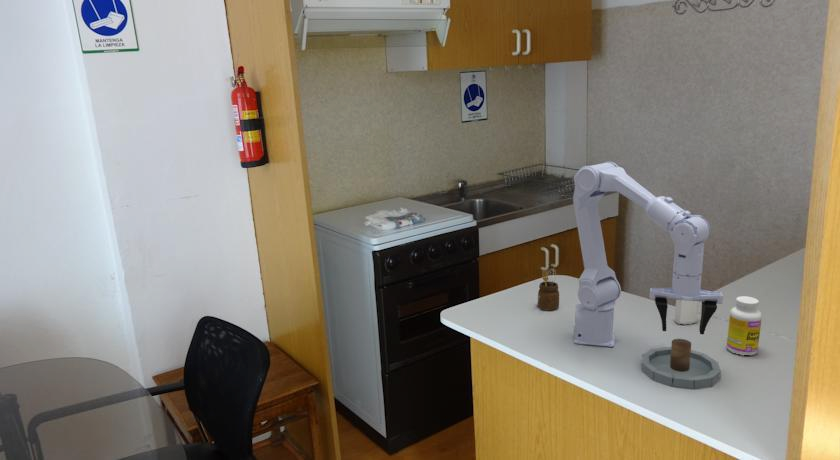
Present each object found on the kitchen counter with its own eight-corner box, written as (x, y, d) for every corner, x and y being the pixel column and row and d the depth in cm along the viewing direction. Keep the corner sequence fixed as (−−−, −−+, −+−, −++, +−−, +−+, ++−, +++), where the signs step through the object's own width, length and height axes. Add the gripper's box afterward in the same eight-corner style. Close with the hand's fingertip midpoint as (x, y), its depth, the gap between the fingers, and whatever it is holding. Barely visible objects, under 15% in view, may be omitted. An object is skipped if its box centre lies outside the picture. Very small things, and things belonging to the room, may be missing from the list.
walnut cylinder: (670, 370, 141) (672, 345, 140) (669, 362, 145) (671, 338, 144) (690, 372, 140) (692, 347, 139) (688, 364, 144) (690, 339, 142)
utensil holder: (562, 305, 182) (563, 265, 179) (554, 313, 177) (555, 272, 174) (542, 302, 186) (543, 262, 183) (534, 309, 180) (534, 269, 177)
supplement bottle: (745, 359, 147) (750, 307, 144) (720, 348, 153) (725, 298, 150) (764, 352, 150) (769, 301, 147) (738, 342, 156) (743, 292, 153)
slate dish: (643, 383, 138) (643, 375, 137) (640, 351, 152) (640, 344, 152) (724, 392, 133) (725, 383, 133) (713, 358, 148) (714, 350, 147)
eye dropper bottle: (698, 326, 166) (701, 282, 163) (675, 324, 167) (678, 281, 164) (696, 319, 170) (699, 277, 167) (673, 318, 171) (676, 275, 168)
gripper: (652, 276, 136) (648, 335, 139) (727, 280, 132) (721, 341, 135) (650, 266, 142) (647, 322, 146) (722, 270, 138) (716, 328, 142)
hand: (682, 331), depth 141 cm, fingers open, 7 cm apart
